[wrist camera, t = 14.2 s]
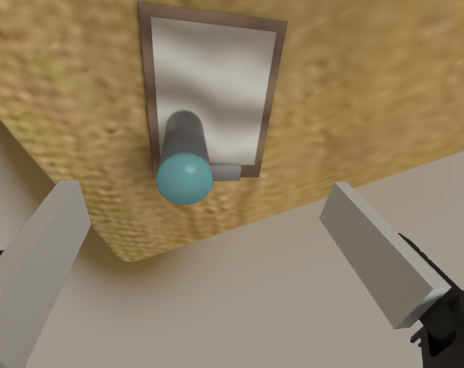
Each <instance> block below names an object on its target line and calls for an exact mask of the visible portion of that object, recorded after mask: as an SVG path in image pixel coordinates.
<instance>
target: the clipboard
mask: <svg viewBox="0 0 464 368" xmlns="http://www.w3.org/2000/svg"><path fill="white" fill-rule="evenodd" d="M138 6H139V17H140V28H141V40H142V51H143V62H144V74H145V85H146V96H147V107H148V119H149V130H150V141H151V153H152V164H153V175H154V177H157V173H158V168H159V162H160V157H161V152H162V146H163V141H164V136H165V130H166V125H167V121H168V119H169V118H170V116H171V115H172V114H173V113H174V112H175V111H177V110H181V109H187V110H190V111H193V112H194V113H195V114H197V116H198V117H199V118H200V120H201V122H202V125H203V131H204V136H205V141H206V146H207V152H208V157H209V162H210V168H211V173H212V178H213V181H230V180H240V177H259V173H260V167H261V162H262V156H263V151H264V145H265V140H266V135H267V129H268V124H269V118H270V113H271V107H272V102H273V97H274V91H275V86H276V80H277V75H278V69H279V64H280V59H281V53H282V48H283V42H284V37H285V31H286V26H287V21H280V20H272V19H265V18H257V17H250V16H242V15H235V14H227V13H220V12H212V11H205V10H197V9H190V8H182V7H175V6H167V5H160V4H152V3H145V2H138Z"/></svg>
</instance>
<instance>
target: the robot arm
mask: <svg viewBox="0 0 464 368" xmlns="http://www.w3.org/2000/svg"><path fill="white" fill-rule="evenodd" d="M320 220H321V222H322V223H323V225H324V226H325V228H326V229H327V231H328V232H329V234H330V235H331V237H332V238H333V239H334V241H335V242H336V244H337V245H338V247H339V248H340V250H341V251H342V253H343V254H344V255H345V257H346V259H347V260H348V262H349V263H350V265H351V266H352V268H353V269H354V271H355V272H356V274H357V275H358V276H359V278H360V279H361V281H362V282H363V284H364V285H365V287H366V288H367V290H368V291H369V292H370V294H371V296H372V297H373V299H374V300H375V302H376V303H377V304H378V306H379V307H380V309H381V310H382V312H383V313H384V315H385V316H386V318H387V319H388V321H389V322H390V324H391V325H392V327H393V328H394V329H401V328H409V327H411V326H412V325H413V324H414V323H415V322H416V321H417V320H418V319H419V320H420V321H421V323H422V324H423V325H424V326H423V327H422V328H421V329H420V330H419V331H417V332H416V333H415V334H414V335H413V336H412V337H411V340H410V342H412V343H414V342H415V341H417V340H418V339H419V338H421V342H420V343H419V344H418V346H419V347H421V348H422V360H423V368H464V291H462V290H461V289H460V288H459V287H458V286H456V284H455V283H454V282H453V281H451V280H450V279H449V278H448V277H447V276H446V275H445V274H444V273H443V272H442V271H441V270H440V269H439V268H438V267H437V266H436V265H435V264H434V263H433V262H432V261H431V260H429V259H428V257H427V256H426V255H425V254H424V253H423V252H420V249H419V248H418V247H417V246H416V245H415V244H413V243H412V242H411V241H410V240H409V239H407V238H406V237H404V236H403V235H401V234H400V233H397V232H396V231H395V230H394V229H393V228H392V227H391V226H390V225H388V223H387V222H386V221H385V220H383V218H382V217H381V216H380V215H379V214H378V213H377V212H376V211H375V210H374V209H373V208H372V207H371V206H370V205H369V204H368V203H367V202H366V201H365V200H364V199H363V198H362V197H361V196H360V195H359V194H357V192H356V191H355V190H354V189H353V188H352V187H351V186H350V185H349V184H348V183H347V182H334V184H333V186H332V189H331V191H330V194H329V196H328V198H327V201H326V203H325V206H324V208H323V211H322V213H321V215H320ZM90 226H91V222H90V219H89V215H88V212H87V208H86V205H85V201H84V197H83V194H82V190H81V187H80V183H79V180H60V181H59V182H58V183H57V184H56V186H55V187H54V188H53V190H52V191H51V192H50V193H49V195H48V196H47V197H46V198H45V200H44V201H43V202H42V203H41V205H40V206H39V207H38V209H37V210H36V211H35V212H34V214H33V215H32V216H31V217H30V219H29V220H28V221H27V222H26V224H25V225H24V226H23V227H22V229H21V230H20V231H19V233H18V234H17V235H16V236H15V238H14V239H13V240H12V241H11V243H10V244H9V245H8V247H7V248H6V249H5V250H2V251H0V368H25V366H26V364H27V361H28V359H29V357H30V355H31V353H32V350H33V349H34V346H35V344H36V342H37V340H38V337H39V336H40V333H41V331H42V329H43V327H44V325H45V322H46V321H47V318H48V316H49V314H50V312H51V310H52V308H53V305H54V303H55V301H56V299H57V297H58V295H59V292H60V290H61V288H62V286H63V284H64V282H65V279H66V277H67V275H68V273H69V271H70V269H71V267H72V265H73V262H74V260H75V258H76V256H77V254H78V252H79V250H80V247H81V245H82V243H83V241H84V239H85V237H86V234H87V232H88V230H89V228H90Z"/></svg>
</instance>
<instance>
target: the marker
mask: <svg viewBox="0 0 464 368" xmlns="http://www.w3.org/2000/svg"><path fill="white" fill-rule="evenodd" d="M156 183H157V187H158V190H159V192H160V193H161V194H162V196H163V197H165V198H166V199H167V200H169V201H171V202H173V203H177V204H193V203H196V202H198V201H200V200H202V199H203V198H205V197H206V196H207V195H208V193H209V192H210V190H211V188H212V184H213V178H212V173H211V168H210V162H209V157H208V152H207V146H206V141H205V136H204V131H203V125H202V122H201V120H200V118H199V117H198V116H197V114H195V113H194V112H193V111H190V110H187V109H181V110H177V111H175V112H174V113H173V114H172V115H171V116H170V118H169V119H168V121H167V125H166V130H165V136H164V141H163V146H162V152H161V157H160V162H159V168H158V173H157V179H156Z"/></svg>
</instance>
